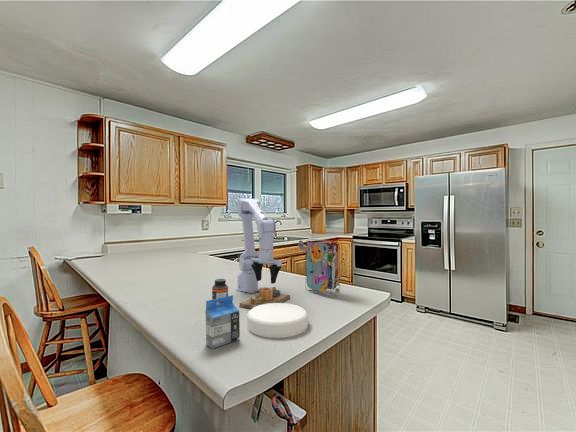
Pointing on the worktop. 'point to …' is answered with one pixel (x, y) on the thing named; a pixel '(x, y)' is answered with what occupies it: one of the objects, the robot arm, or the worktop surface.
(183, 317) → the worktop surface
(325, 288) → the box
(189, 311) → the worktop surface
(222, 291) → the supplement bottle
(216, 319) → the label tape box
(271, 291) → the idler gear
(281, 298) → the gear board
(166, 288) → the worktop surface
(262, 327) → the container
